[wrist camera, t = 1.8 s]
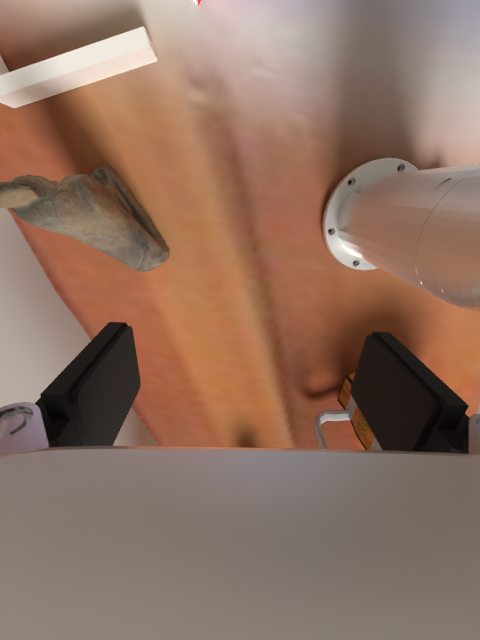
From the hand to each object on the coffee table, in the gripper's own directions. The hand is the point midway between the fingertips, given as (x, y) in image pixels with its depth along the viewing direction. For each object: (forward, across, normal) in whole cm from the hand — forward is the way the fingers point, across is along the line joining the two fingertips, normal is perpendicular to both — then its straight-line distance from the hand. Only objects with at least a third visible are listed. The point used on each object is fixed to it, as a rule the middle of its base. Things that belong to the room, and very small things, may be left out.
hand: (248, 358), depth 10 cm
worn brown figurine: (+25, +14, -2) cm, 28 cm away
